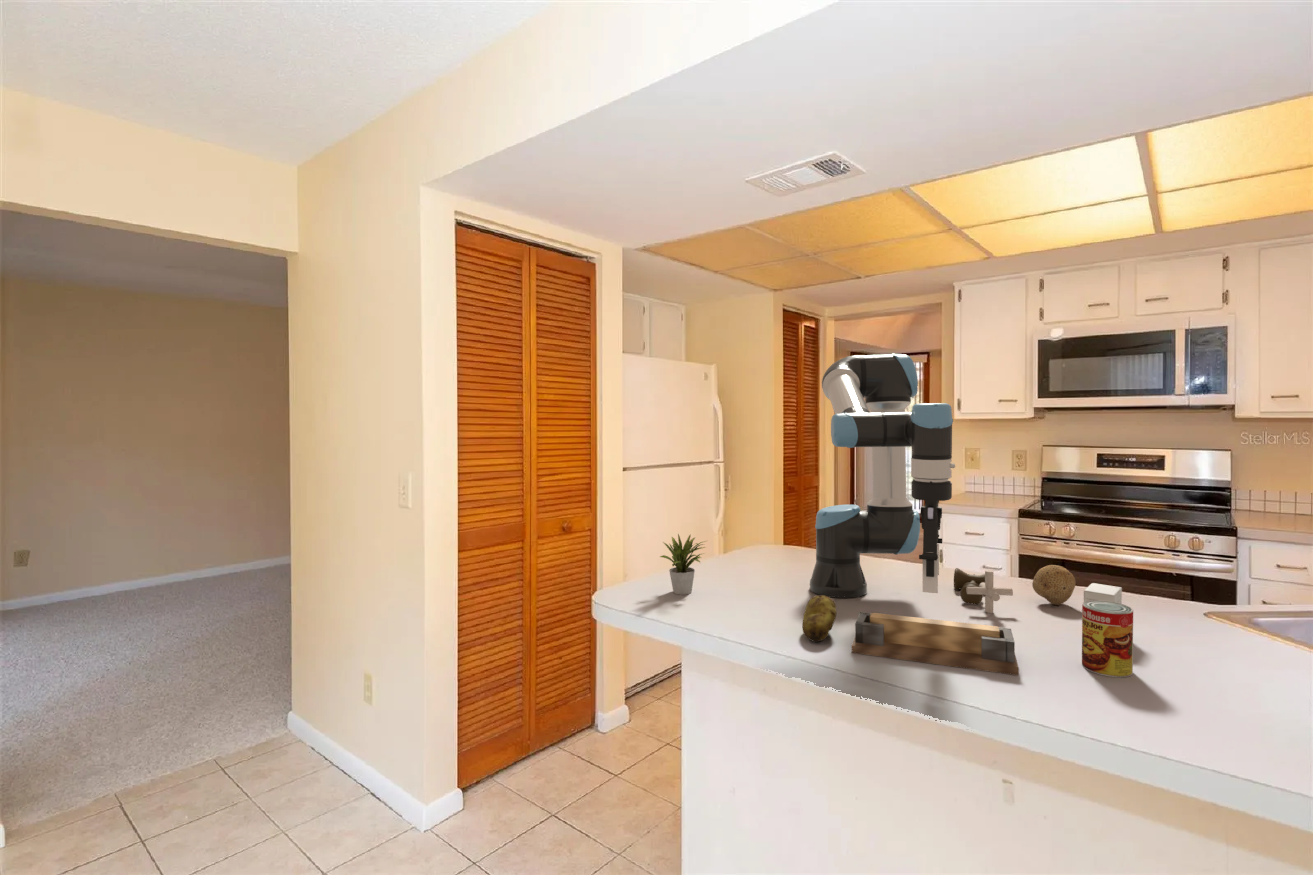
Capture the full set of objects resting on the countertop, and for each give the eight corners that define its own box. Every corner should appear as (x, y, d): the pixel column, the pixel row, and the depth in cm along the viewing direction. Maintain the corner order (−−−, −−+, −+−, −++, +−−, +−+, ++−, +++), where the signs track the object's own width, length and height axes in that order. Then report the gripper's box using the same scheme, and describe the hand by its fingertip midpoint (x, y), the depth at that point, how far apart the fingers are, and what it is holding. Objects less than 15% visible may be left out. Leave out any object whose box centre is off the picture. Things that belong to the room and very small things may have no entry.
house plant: (702, 602, 168) (701, 540, 167) (651, 599, 172) (650, 538, 171) (713, 587, 181) (712, 530, 181) (666, 585, 185) (665, 529, 185)
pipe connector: (1018, 619, 150) (1018, 577, 149) (972, 617, 152) (972, 575, 151) (1004, 606, 160) (1004, 566, 159) (961, 604, 162) (961, 565, 161)
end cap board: (851, 652, 131) (851, 626, 131) (859, 633, 142) (859, 609, 142) (1018, 675, 119) (1018, 646, 119) (1012, 652, 130) (1013, 626, 130)
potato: (787, 639, 140) (787, 603, 140) (814, 623, 150) (814, 589, 149) (823, 647, 135) (822, 610, 134) (848, 631, 144) (848, 596, 144)
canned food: (1072, 660, 125) (1073, 600, 125) (1113, 660, 125) (1114, 600, 124) (1099, 677, 117) (1099, 613, 117) (1143, 677, 117) (1143, 612, 117)
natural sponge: (1042, 609, 156) (1042, 569, 156) (1025, 599, 165) (1026, 560, 165) (1082, 610, 155) (1082, 569, 155) (1063, 599, 164) (1063, 561, 164)
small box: (1091, 628, 143) (1091, 582, 142) (1121, 634, 139) (1122, 586, 138) (1082, 638, 137) (1082, 589, 137) (1114, 644, 133) (1114, 594, 133)
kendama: (950, 604, 164) (954, 582, 182) (992, 610, 160) (993, 587, 177) (950, 581, 164) (955, 562, 181) (993, 587, 159) (994, 566, 177)
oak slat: (870, 640, 134) (869, 616, 134) (871, 635, 137) (871, 612, 137) (999, 656, 124) (999, 631, 124) (998, 651, 127) (998, 626, 126)
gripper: (951, 488, 116) (951, 603, 117) (951, 473, 139) (951, 569, 140) (907, 486, 119) (907, 598, 121) (914, 472, 142) (914, 566, 143)
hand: (931, 583), depth 130 cm, fingers open, 13 cm apart
